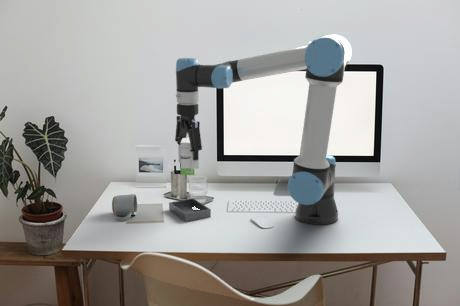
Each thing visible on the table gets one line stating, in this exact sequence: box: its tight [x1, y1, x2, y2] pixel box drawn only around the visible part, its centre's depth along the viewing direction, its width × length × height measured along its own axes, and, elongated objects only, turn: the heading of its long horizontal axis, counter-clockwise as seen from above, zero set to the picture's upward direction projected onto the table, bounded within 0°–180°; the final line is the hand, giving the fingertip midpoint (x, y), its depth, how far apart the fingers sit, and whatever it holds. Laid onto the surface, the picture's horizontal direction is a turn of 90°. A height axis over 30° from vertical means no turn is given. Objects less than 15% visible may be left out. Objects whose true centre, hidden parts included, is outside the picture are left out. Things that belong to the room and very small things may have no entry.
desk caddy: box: [168, 198, 212, 223], centre depth 207 cm, size 10×14×3 cm
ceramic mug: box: [111, 193, 138, 222], centre depth 204 cm, size 11×8×8 cm
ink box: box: [180, 137, 197, 176], centre depth 202 cm, size 9×5×12 cm, turn 0°
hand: (188, 165), depth 203 cm, fingers closed on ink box, 9 cm apart
